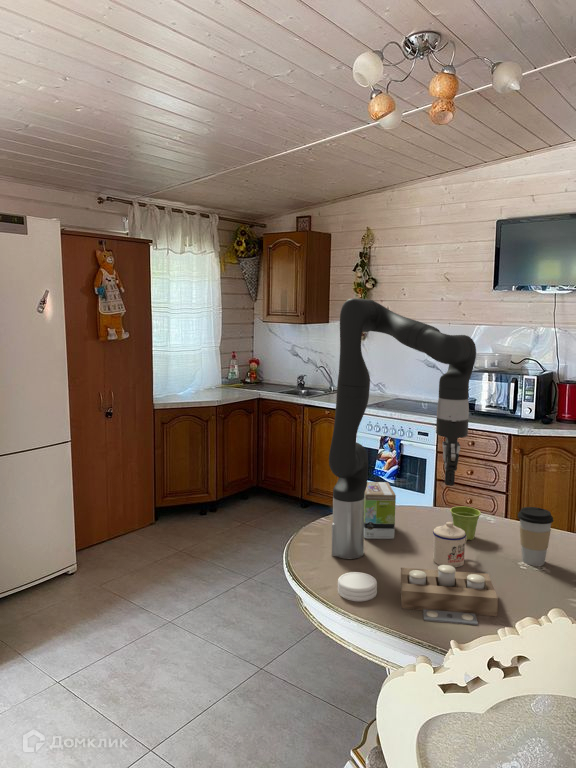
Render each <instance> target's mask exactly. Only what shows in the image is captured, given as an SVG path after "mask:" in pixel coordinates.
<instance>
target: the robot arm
mask: <svg viewBox="0 0 576 768" xmlns="http://www.w3.org/2000/svg"><path fill="white" fill-rule="evenodd" d="M340 309H341V310H340V313H339V314H340V315H339V343H340V344H339V363H338V364H339V365H338V375H337V387H336V403H335V412H334V414H335V415H334V425H333V432H332V438H331V443H330V447H329V448H330V449H329V454H328V465H329V468H330V471H331V473H332V474H333V475H334V476H336V477H337V478H338V480H337V481H336V484H335V485H334V486H333V489H332V524H331V556H333V557H336V558H340V559H345V560H349V559H350V560H354V559H359V558H361V557H362V556H364V554H365V553H364V549H365V546H364V545H365V544H364V539H365V538H364V493H365V490H366V487H367V482H368V475H369V457H368V451H367V450H366V449H365V447H364V446H363V445H362V444H360V443H359V442H357V435H358V430H359V427H360V425H361V422H362V420H363V418H364V417H363V416H364V415H365V412H366V410H367V407H368V404H369V398H370V388H371V385H370V384H371V377H370V373H369V370H368V367H367V365H366V361H365V359H364V357H363V353H362V337H363V336H362V335H363V333H368V332H375V333H381V334H386V335H388V336H391V337H393V338H394V339H395V340H397V342H399V343H401V344H402V345H404V346H406V347H407V348H409V349H413V350H415V351H418V352H421V353H424V354H426V356H428V357H430V358H431V359H432V360H434V361H435V362H439V363H441V364H444V365H448V367H447V371H446V373H444V374H442V375H441V376H440V378H439V381H438V398H437V399H438V400H437V406H436V424H435V425H436V427H435V433H436V435H437V436H440V437H443V438H445V441H442V451H443V452H442V458H443V467H444V484H445V486H449V487H450V486H451V487H452V486H455V480H456V479H455V478H456V476H455V475H456V471H458V463H459V458H460V452H461V444H460V442H458V439H459V438H466V437H467V436H468V433H469V416H470V414H469V413H470V408H469V407H470V405H469V404H470V403H469V394H470V393H469V390H470V380H471V377H472V373H473V370H474V366H475V364H476V363H475V362H476V358H477V348H476V343H475V341H474V339H473V338H471V336H469V335H465V334H453V335H452V334H447V333H443V332H441V331H440V330H439V328H437V327H435V326H432V325H430V324H427V323H425V322H421V321H419V320H416V319H412V318H409V317H406V316H403V315H401V314H399V313H396V312H394V311H392V310H391V309H389V308H387V307H386V306H384V305H382V304H380V303H378V302H377V301H375V300H373V299H370V298H369V299H368V298H356V297H355V298H348V299H347V300H346V301H344V302H343V305H342V306H341V308H340Z"/></svg>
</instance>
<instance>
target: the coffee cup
mask: <svg viewBox="0 0 576 768" xmlns="http://www.w3.org/2000/svg"><path fill="white" fill-rule="evenodd" d="M517 518H518V519H519V538H520V547H521V557H522V559H521V560H522V562H523V563H524V564H526V565H530V566H533V567H534V566H535V567H541V566H544V564H545V563H546V557H547V553H548V552H547V550H548V548H549V541H550V538H551V537H550V536H551V530H552V529H551V526H552V523H553V522H554V516H552V513H551V511H549V510H547V509H544V508H541V507H537V506H536V507H534V506H525V507H521V508H520V511H519V512H518V513H517Z"/></svg>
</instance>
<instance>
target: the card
mask: <svg viewBox="0 0 576 768" xmlns="http://www.w3.org/2000/svg"><path fill="white" fill-rule="evenodd" d="M422 615H423V620H424V621H427V622H439V623H449V624H451V623H452V624H460V625H461V624H463V625H470V626H471V625H472V626H478V625H479V622H478V619H477V615H475V614H473V613H461V612H450V611H438V610H426V609H423V610H422Z"/></svg>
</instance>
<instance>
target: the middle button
mask: <svg viewBox="0 0 576 768" xmlns="http://www.w3.org/2000/svg"><path fill="white" fill-rule="evenodd" d="M437 570H438V584H439V585H440V586H446V587H454V586H455V572H457V570H456V567H455V568H454V567H453V566H450V565H438V567H437Z"/></svg>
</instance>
